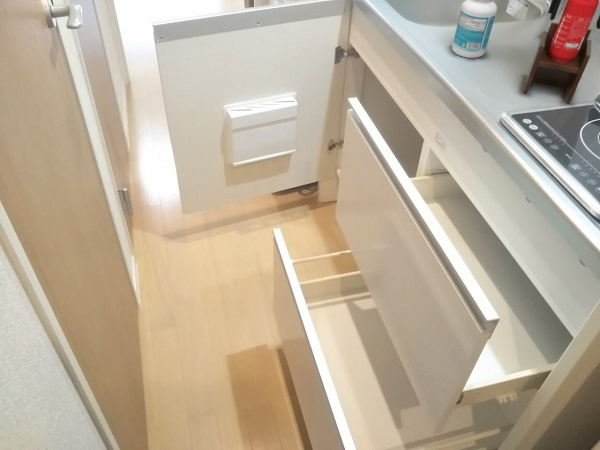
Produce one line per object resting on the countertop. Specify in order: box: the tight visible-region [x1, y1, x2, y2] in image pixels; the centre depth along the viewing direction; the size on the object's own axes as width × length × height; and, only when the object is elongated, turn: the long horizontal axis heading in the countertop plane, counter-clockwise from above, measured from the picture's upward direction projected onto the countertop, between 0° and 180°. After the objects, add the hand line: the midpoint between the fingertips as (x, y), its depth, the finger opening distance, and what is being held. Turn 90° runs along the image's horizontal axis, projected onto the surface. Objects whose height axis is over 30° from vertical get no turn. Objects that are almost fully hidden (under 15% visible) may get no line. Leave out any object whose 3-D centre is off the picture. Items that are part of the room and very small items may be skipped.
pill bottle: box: [451, 0, 498, 59], centre depth 114 cm, size 8×7×14 cm
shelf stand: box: [522, 21, 592, 105], centre depth 103 cm, size 9×8×12 cm
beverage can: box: [549, 0, 600, 63], centre depth 98 cm, size 5×5×12 cm
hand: (575, 21), depth 97 cm, fingers open, 7 cm apart
